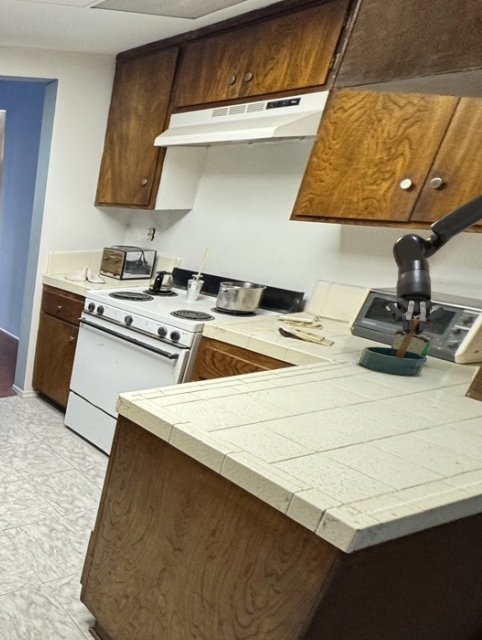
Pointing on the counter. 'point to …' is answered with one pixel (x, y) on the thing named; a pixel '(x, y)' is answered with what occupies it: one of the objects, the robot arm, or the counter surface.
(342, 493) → the counter surface
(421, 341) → the sandwich
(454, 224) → the robot arm
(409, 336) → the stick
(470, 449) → the counter surface
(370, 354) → the bowl
